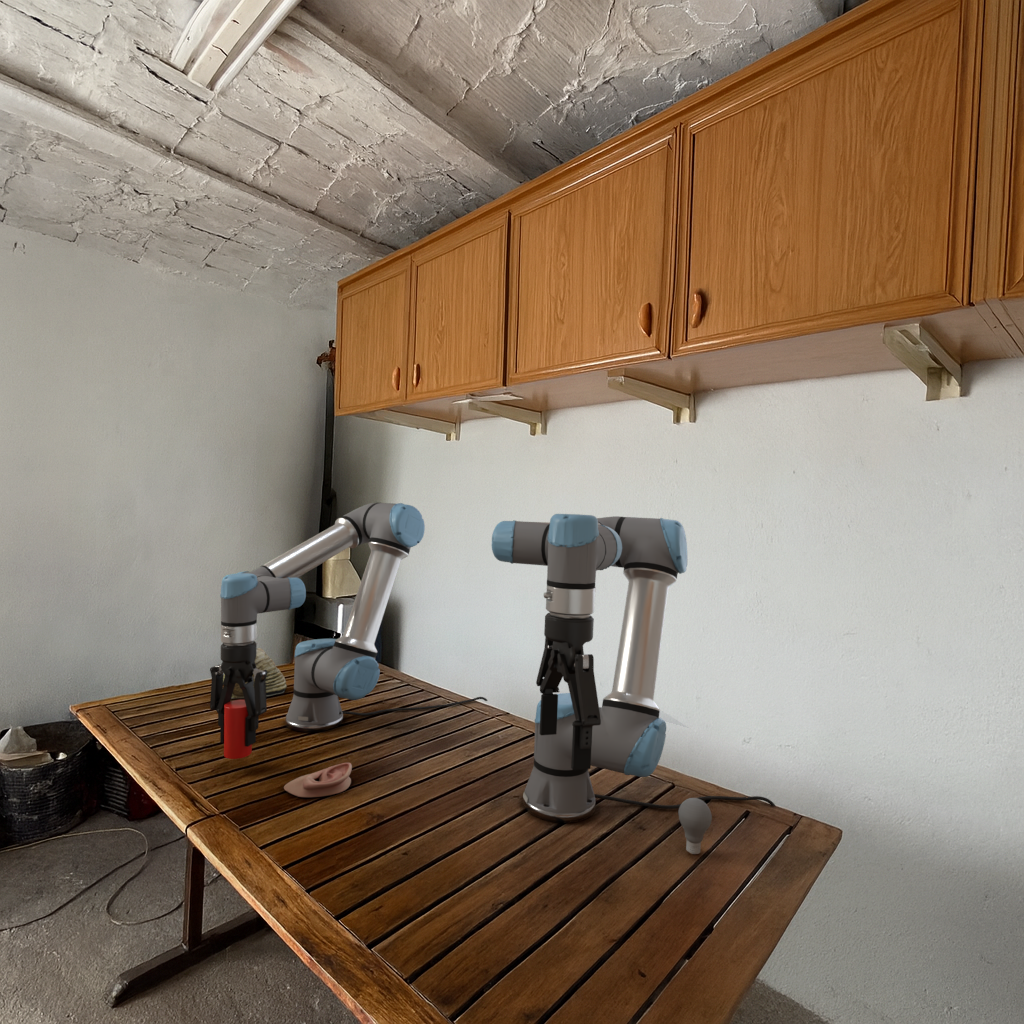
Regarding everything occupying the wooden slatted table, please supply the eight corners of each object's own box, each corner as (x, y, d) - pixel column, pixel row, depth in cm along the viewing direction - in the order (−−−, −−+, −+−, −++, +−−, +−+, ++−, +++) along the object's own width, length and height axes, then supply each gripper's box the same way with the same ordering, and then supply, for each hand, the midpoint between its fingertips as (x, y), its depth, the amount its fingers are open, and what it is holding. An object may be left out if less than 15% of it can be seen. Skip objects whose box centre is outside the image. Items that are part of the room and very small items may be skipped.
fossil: (218, 695, 195) (220, 647, 195) (278, 685, 208) (279, 640, 207) (228, 703, 189) (230, 653, 188) (289, 692, 201) (290, 645, 201)
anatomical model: (276, 775, 134) (304, 754, 145) (275, 793, 134) (304, 771, 145) (334, 783, 131) (358, 761, 142) (333, 802, 131) (357, 779, 142)
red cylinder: (229, 748, 148) (229, 699, 147) (255, 748, 148) (255, 699, 148) (219, 759, 142) (220, 708, 142) (246, 759, 142) (247, 708, 142)
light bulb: (672, 843, 121) (674, 791, 121) (702, 843, 121) (705, 792, 121) (683, 861, 115) (685, 807, 115) (715, 861, 115) (717, 807, 115)
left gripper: (191, 642, 143) (191, 743, 144) (264, 649, 138) (263, 754, 139) (215, 634, 150) (214, 731, 151) (285, 641, 145) (284, 741, 146)
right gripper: (521, 600, 109) (515, 723, 109) (579, 631, 85) (571, 788, 85) (562, 600, 111) (556, 720, 111) (629, 630, 87) (622, 783, 87)
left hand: (238, 741), depth 145 cm, fingers closed on red cylinder, 6 cm apart
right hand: (563, 750), depth 98 cm, fingers open, 13 cm apart
